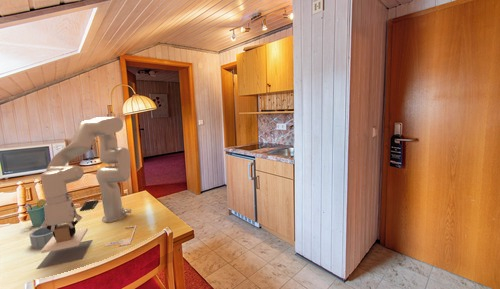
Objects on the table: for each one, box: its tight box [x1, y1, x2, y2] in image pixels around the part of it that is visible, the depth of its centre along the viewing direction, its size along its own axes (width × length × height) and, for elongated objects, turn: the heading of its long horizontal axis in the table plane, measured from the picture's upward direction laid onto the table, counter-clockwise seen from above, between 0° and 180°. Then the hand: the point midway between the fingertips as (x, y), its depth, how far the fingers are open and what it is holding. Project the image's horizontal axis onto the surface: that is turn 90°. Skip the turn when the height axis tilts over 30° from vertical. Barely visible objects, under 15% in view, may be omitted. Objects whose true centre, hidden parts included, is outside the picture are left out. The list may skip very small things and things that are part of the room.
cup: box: [22, 198, 46, 228], centre depth 130 cm, size 14×8×15 cm, turn 10°
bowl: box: [29, 224, 61, 250], centre depth 113 cm, size 12×12×6 cm
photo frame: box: [104, 225, 137, 247], centre depth 116 cm, size 15×1×18 cm
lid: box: [40, 223, 89, 254], centre depth 103 cm, size 13×13×7 cm
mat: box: [36, 239, 94, 270], centre depth 103 cm, size 16×16×1 cm
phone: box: [79, 199, 99, 212], centre depth 157 cm, size 8×1×15 cm
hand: (65, 236), depth 103 cm, fingers closed on lid, 4 cm apart
